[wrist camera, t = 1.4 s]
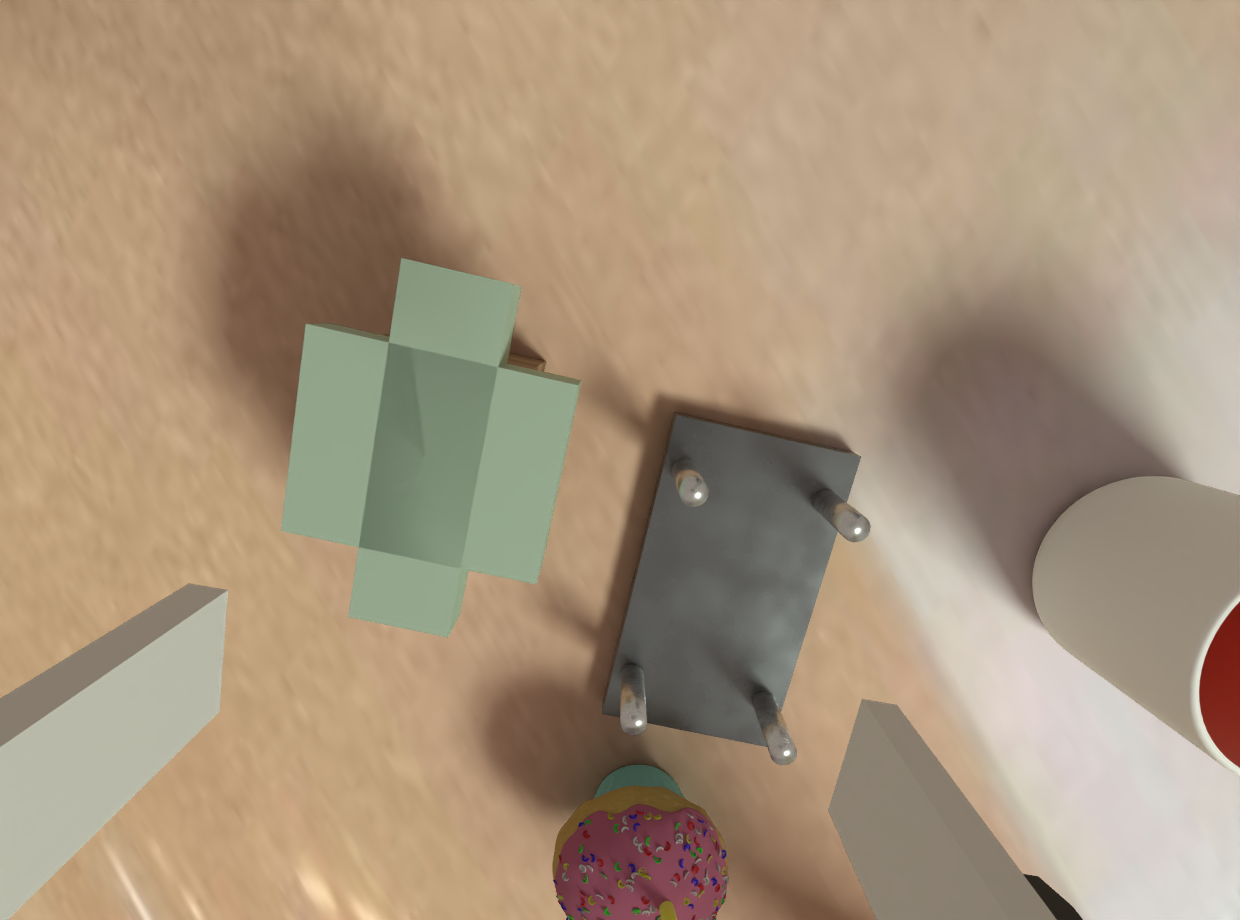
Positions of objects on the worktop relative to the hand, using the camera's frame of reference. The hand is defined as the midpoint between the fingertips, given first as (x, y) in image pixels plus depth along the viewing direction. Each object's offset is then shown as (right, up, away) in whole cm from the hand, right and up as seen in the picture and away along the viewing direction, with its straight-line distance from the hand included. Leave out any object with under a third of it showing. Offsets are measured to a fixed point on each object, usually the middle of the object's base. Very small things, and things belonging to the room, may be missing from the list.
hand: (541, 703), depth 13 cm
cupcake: (+3, -14, +22) cm, 27 cm away
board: (-6, +5, +13) cm, 15 cm away
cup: (+27, 0, +20) cm, 33 cm away
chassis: (+7, -1, +19) cm, 21 cm away
